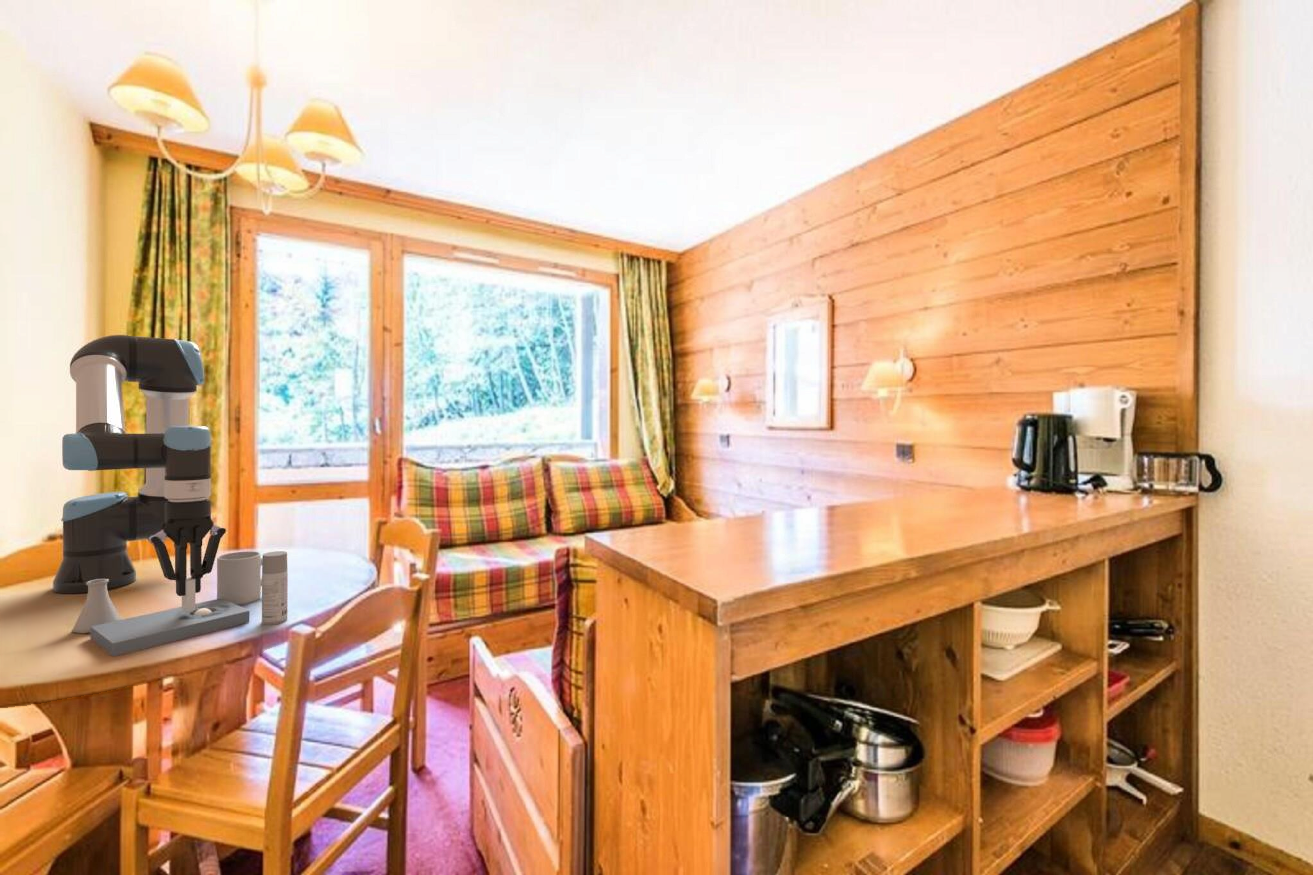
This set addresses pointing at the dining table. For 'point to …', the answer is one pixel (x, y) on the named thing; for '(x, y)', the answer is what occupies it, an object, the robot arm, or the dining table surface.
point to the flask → (96, 607)
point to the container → (274, 587)
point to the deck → (166, 626)
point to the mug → (239, 577)
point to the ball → (202, 611)
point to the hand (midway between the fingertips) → (188, 609)
